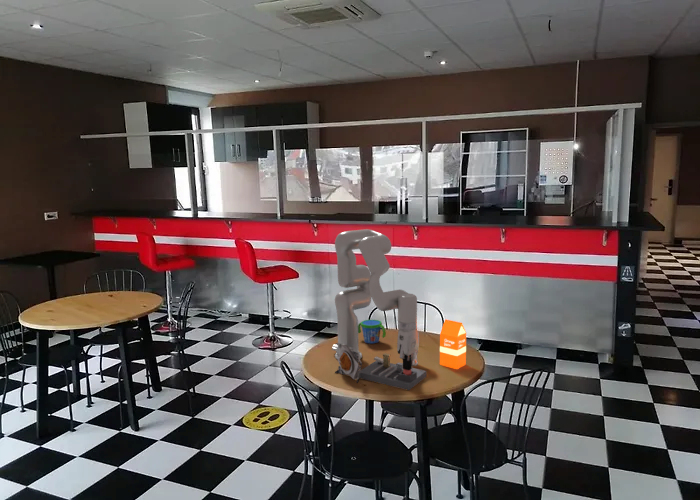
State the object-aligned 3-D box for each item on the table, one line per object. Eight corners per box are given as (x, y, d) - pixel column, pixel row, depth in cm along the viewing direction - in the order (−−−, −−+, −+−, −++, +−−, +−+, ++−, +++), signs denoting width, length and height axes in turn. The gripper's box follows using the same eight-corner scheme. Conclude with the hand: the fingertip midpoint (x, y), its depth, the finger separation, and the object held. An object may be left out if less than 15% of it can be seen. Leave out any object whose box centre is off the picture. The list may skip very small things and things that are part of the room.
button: (401, 378, 210) (401, 369, 210) (405, 375, 213) (405, 367, 212) (409, 379, 208) (409, 371, 208) (412, 377, 211) (412, 368, 210)
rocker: (373, 359, 228) (374, 357, 228) (376, 358, 230) (376, 356, 230) (385, 364, 225) (385, 362, 225) (387, 363, 227) (388, 361, 227)
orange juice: (456, 369, 226) (457, 324, 223) (439, 364, 232) (439, 321, 229) (466, 364, 232) (466, 320, 229) (448, 359, 238) (449, 317, 235)
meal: (332, 373, 224) (332, 344, 222) (340, 370, 227) (340, 341, 225) (354, 384, 212) (354, 353, 210) (362, 381, 215) (362, 351, 213)
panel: (357, 377, 219) (357, 366, 218) (377, 365, 232) (377, 354, 231) (408, 390, 206) (408, 378, 205) (426, 376, 219) (426, 365, 218)
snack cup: (353, 341, 265) (352, 321, 264) (366, 336, 273) (366, 317, 272) (377, 347, 255) (377, 327, 254) (390, 342, 263) (390, 322, 261)
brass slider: (382, 367, 223) (382, 354, 222) (384, 365, 224) (384, 353, 223) (388, 368, 221) (388, 355, 220) (390, 366, 223) (390, 354, 222)
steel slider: (396, 371, 218) (396, 363, 218) (398, 369, 220) (398, 362, 219) (402, 372, 216) (402, 365, 216) (404, 371, 218) (404, 363, 217)
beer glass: (409, 368, 229) (409, 335, 226) (400, 362, 235) (400, 330, 232) (422, 365, 232) (422, 332, 229) (413, 360, 238) (413, 328, 236)
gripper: (407, 331, 199) (406, 377, 202) (424, 321, 211) (423, 364, 214) (389, 328, 203) (389, 373, 206) (407, 318, 215) (407, 361, 218)
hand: (407, 368), depth 210 cm, fingers closed
